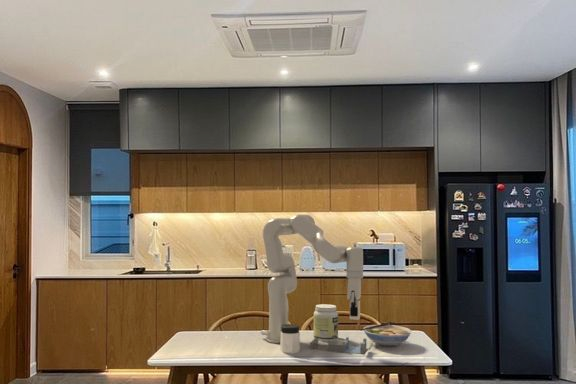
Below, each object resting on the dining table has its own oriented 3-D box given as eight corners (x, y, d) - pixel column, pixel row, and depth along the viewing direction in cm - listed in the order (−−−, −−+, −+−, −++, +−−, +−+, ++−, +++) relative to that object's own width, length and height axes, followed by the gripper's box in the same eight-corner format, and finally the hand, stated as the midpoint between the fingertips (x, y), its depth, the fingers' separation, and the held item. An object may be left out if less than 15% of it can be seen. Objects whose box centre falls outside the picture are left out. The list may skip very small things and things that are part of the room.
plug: (349, 319, 226) (349, 301, 226) (351, 317, 229) (351, 299, 230) (358, 319, 224) (358, 301, 225) (360, 318, 228) (360, 300, 229)
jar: (277, 354, 222) (277, 326, 222) (283, 349, 229) (283, 323, 230) (296, 356, 219) (297, 328, 220) (301, 351, 227) (302, 324, 227)
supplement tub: (337, 344, 241) (337, 308, 242) (311, 342, 243) (312, 307, 244) (338, 338, 253) (339, 304, 254) (314, 336, 255) (315, 303, 256)
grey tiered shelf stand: (310, 351, 227) (310, 339, 227) (315, 346, 237) (315, 334, 237) (363, 356, 220) (363, 343, 220) (366, 350, 230) (366, 338, 230)
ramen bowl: (389, 354, 223) (389, 336, 224) (351, 344, 241) (351, 327, 241) (423, 346, 239) (422, 328, 240) (385, 336, 257) (385, 320, 257)
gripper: (349, 272, 237) (349, 311, 236) (343, 276, 221) (343, 318, 220) (365, 272, 235) (365, 312, 234) (360, 276, 219) (360, 319, 218)
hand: (354, 314), depth 227 cm, fingers closed on plug, 4 cm apart
